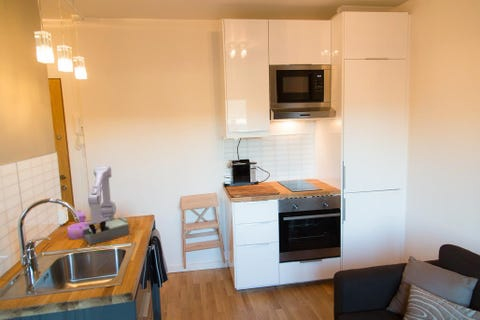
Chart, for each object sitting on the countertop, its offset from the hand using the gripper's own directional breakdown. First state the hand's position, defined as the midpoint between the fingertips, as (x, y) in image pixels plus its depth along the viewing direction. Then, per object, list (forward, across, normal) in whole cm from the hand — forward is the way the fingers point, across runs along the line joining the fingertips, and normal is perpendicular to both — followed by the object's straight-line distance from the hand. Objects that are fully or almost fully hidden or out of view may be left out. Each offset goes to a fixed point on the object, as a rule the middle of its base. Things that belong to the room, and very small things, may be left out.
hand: (98, 234), depth 191 cm
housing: (+4, +6, +3) cm, 8 cm away
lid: (-3, +12, +3) cm, 13 cm away
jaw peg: (+2, 0, 0) cm, 2 cm away
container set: (+4, -3, +25) cm, 25 cm away
